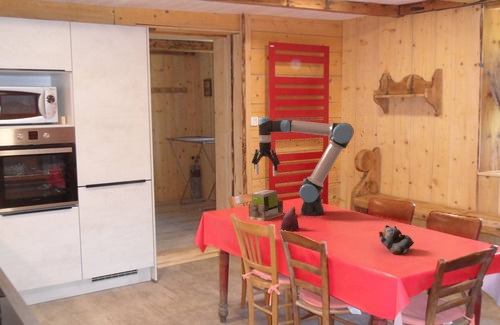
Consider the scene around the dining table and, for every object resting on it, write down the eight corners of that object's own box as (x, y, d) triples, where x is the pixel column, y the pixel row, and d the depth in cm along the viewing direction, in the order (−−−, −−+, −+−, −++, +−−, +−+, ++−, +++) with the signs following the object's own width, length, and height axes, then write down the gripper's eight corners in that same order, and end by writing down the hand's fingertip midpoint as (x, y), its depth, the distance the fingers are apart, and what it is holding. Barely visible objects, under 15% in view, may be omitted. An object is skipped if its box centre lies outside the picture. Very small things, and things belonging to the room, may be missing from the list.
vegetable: (299, 233, 318) (306, 208, 317) (293, 235, 309) (300, 209, 307) (283, 227, 322) (290, 203, 321) (277, 229, 313) (284, 204, 312)
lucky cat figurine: (401, 256, 256) (386, 230, 257) (383, 261, 266) (369, 235, 267) (419, 242, 264) (404, 216, 265) (401, 246, 274) (387, 222, 275)
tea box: (266, 211, 359) (265, 189, 357) (278, 213, 353) (278, 190, 351) (251, 215, 347) (251, 192, 346) (264, 217, 341) (264, 194, 339)
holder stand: (284, 214, 356) (283, 200, 354) (263, 221, 337) (262, 206, 336) (269, 212, 363) (268, 198, 362) (247, 219, 344) (247, 204, 343)
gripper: (245, 141, 349) (246, 174, 352) (278, 142, 335) (279, 177, 337) (252, 140, 355) (253, 173, 358) (284, 141, 341) (285, 175, 343)
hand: (265, 175), depth 347 cm, fingers open, 13 cm apart
